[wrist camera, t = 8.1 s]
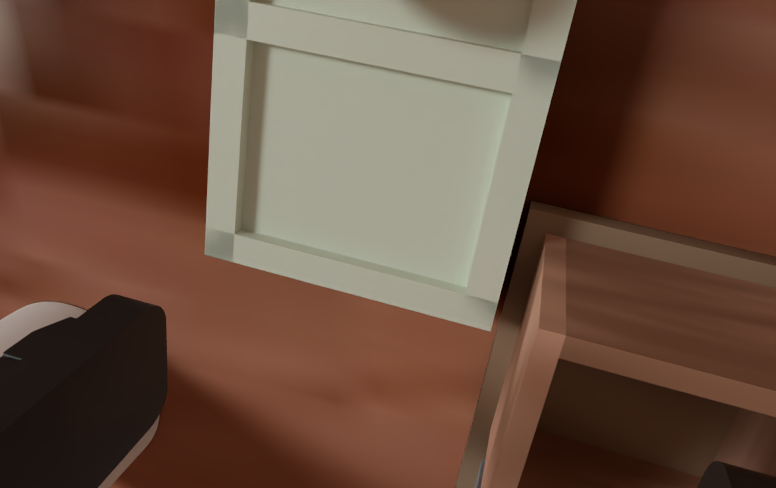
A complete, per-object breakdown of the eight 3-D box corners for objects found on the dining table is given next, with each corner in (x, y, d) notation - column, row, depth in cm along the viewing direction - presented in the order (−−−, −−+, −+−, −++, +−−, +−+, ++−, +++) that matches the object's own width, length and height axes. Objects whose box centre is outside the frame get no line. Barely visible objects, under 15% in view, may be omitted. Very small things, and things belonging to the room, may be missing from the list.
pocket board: (273, -285, 17) (229, -327, 15) (639, -246, 15) (651, -286, 13) (239, 228, 23) (204, 254, 21) (498, 295, 21) (490, 331, 19)
